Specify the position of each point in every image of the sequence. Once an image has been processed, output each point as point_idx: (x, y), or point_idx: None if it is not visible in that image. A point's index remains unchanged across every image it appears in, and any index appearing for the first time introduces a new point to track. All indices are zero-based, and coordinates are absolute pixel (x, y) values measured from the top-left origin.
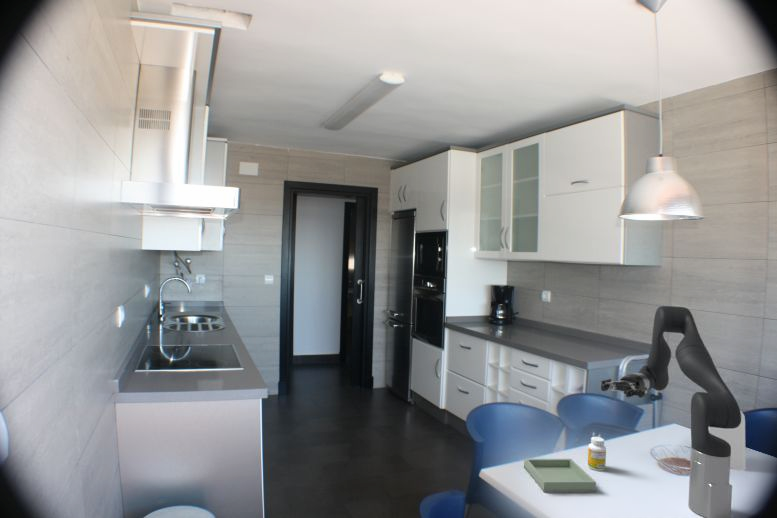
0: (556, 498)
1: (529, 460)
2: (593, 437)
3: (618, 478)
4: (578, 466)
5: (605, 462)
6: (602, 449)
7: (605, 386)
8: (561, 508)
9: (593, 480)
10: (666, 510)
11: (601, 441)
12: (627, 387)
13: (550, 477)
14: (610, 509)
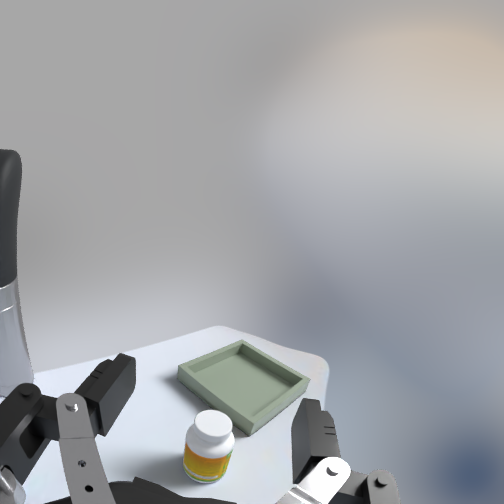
0: (219, 347)
1: (301, 380)
2: (227, 425)
3: (146, 441)
4: (224, 400)
5: (183, 458)
6: (192, 424)
7: (302, 425)
8: (205, 333)
9: (183, 368)
10: (71, 367)
11: (199, 413)
12: (131, 483)
13: (252, 377)
14: (149, 349)
